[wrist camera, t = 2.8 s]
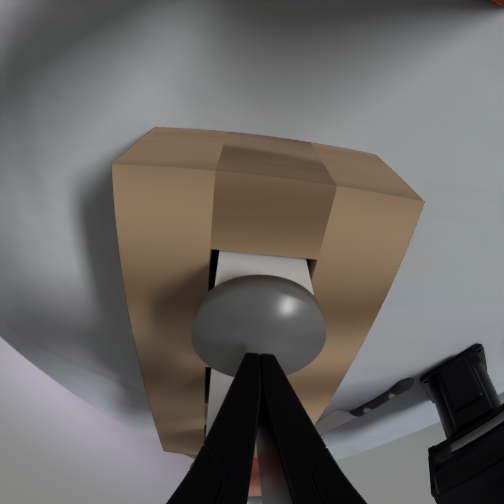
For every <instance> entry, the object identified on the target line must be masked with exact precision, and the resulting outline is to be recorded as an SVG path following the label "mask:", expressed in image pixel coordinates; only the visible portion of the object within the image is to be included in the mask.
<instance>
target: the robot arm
mask: <svg viewBox="0 0 504 504" xmlns="http://www.w3.org/2000/svg"><path fill="white" fill-rule="evenodd" d="M420 383H421V385H422V387H423V388H424V390H425V392H426V393H427V395H428V396H429V398H430V399H431V401H432V403H435V405H436V408H437V411H438V414H439V417H440V420H441V423H442V426H443V428H444V432H445V435H446V438H447V440H445V441H443V442H441V443H439V444H438V445H436V446H432V447H430V448H428V453H429V457H428V460H429V471H430V483H431V494H432V496H433V497H434V499H435V501H436V503H437V504H504V403H503V404H501V402H500V400H499V397H498V395H497V393H496V390H495V388H494V386H493V384H492V382H491V380H490V377H489V375H488V373H487V366H486V360H485V353H484V348H483V346H482V344H478V345H476V346H475V347H473V348H471V349H470V350H468V351H467V352H465V353H463V354H462V355H460V356H458V357H457V358H455V359H453V360H452V361H450V362H448V363H447V364H445V365H443V366H441V367H440V368H438V369H436V370H434V371H432V372H431V373H429V374H427V375H425V376H423V377H422V378H421V379H420ZM255 443H256V447H257V457H258V466H259V476H260V486H261V495H262V504H367V503H366V501H365V500H364V499H363V498H362V497H361V495H360V494H359V493H358V492H357V490H356V489H355V488H354V487H353V486H352V484H351V483H350V482H349V480H348V479H347V478H346V476H345V475H344V474H343V472H342V471H341V469H340V468H339V466H338V465H337V463H336V461H335V460H334V458H333V457H332V455H331V453H330V451H329V450H328V448H326V445H325V443H324V441H323V440H322V438H321V436H320V435H319V433H318V431H317V429H316V428H315V426H314V424H313V422H312V421H311V419H310V417H309V415H308V414H307V412H306V410H305V408H304V407H303V405H302V403H301V401H300V400H299V398H298V396H297V394H296V393H295V391H294V389H293V387H292V385H291V384H290V382H289V380H288V378H287V377H286V375H285V373H284V371H283V369H282V368H281V366H280V364H279V362H278V360H277V359H276V357H275V355H274V354H268V353H261V354H260V355H259V354H258V353H252V352H246V353H245V355H244V357H243V359H242V361H241V363H240V366H239V368H238V370H237V372H236V374H235V377H234V379H233V381H232V383H231V385H230V388H229V390H228V392H227V394H226V396H225V398H224V400H223V403H222V405H221V407H220V409H219V411H218V413H217V415H216V418H215V420H214V422H213V424H212V426H211V428H210V430H209V432H208V434H207V436H206V439H205V441H204V443H203V446H201V449H200V451H199V453H198V455H197V457H196V459H195V460H194V462H193V464H192V466H191V468H190V470H189V471H188V473H187V474H186V476H185V478H184V479H183V481H182V482H181V484H180V485H179V487H178V488H177V489H176V491H175V492H174V493H173V495H172V496H171V498H170V499H169V500H168V502H167V503H166V504H247V501H248V494H249V487H250V480H251V473H252V465H253V458H254V451H255Z"/></svg>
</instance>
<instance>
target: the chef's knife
mask: <svg viewBox="0 0 504 504" xmlns="http://www.w3.org/2000/svg"><path fill="white" fill-rule="evenodd" d="M413 384H414V379H412V378H407V379H404V380H401V381H400V382H399V383H398V384H397V385H395V386H394V387H393V388H392V389H390V390H389V391H387V392H386V393H384V394H382V395H381V396H379V397H377V398H376V399H374V400H372V401H370V402H368V403H367V404H365V405H363V406H361V407H359V408H357V409H355V410H352V411H346V410H336V411H334V412H332V413H331V414H329V415H328V416H326V417H324V418H323V419H321V420H320V421H318V422H316V423H315V425H314V426H315V428H316V429H317V431H318V433H319V435H322V434H325V433H327V432H329V431H331V430H333V429H335V428H337V427H339V426H341V425H343V424H345V423H347V422H349V421H351V420H353V419H355V418H357V417H360V416H362V415H364V414H366V413H367V412H369V411H371V410H373V409H374V408H376V407H378V406H380V405H381V404H383V403H385V402H387V401H388V400H390V399H392V398H393V397H395V396H397V395H399V394H400V393H402V392H404V391H406V390H408V389H409V388H410V387H411V386H412V385H413Z"/></svg>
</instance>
